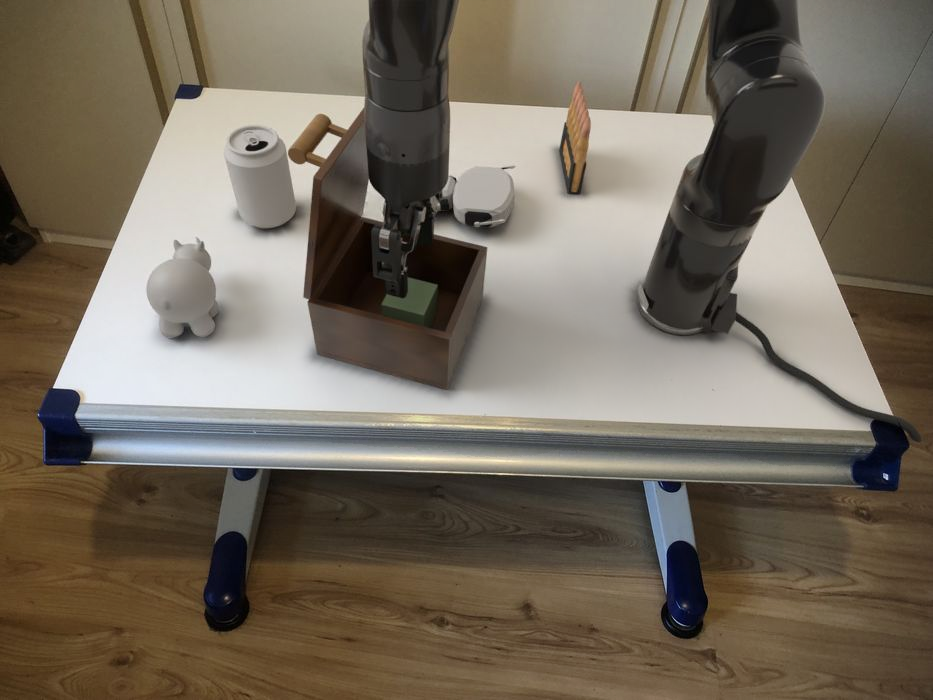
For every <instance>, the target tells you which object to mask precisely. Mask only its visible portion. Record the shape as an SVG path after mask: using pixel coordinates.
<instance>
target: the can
mask: <svg viewBox="0 0 933 700" xmlns="http://www.w3.org/2000/svg"><path fill="white" fill-rule="evenodd" d="M223 156H224V160H225V164H226V167H227V168H226V169H227V171H228V176H229V179H230V183H231V187H232V191H233V195H234V199H235V203H236V206H237V209H238V214H239V216H240V218H241V220H243V221H244V222H245V223H246V224H247V225H250V226H251V227H255V228H259V229H274V228H277V227H278V228H279V227H280V226H282V225H284V224H286V223H287V222H288V221H289V220H290V219H291V218H293V216H294V215H295V213H296V211H297V203H296V198H295V197H296V196H295V192H294V186H293V180H292V175H291V170H290V163H289V156H288V151H287V146H286V144H285V142H284V140H283V139H282V138H281V137H280V136H279V134H278V132H277V131H276V130H275V129H273V128H272V127H269V126H267V125H263V124H248V125H243V126H240V127H238V128H235V129H234V130H233V131H231V132H230V133H229V134H228V136H227V137H226V144H225V146H224V148H223Z"/></svg>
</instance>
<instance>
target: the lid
mask: <svg viewBox="0 0 933 700" xmlns="http://www.w3.org/2000/svg"><path fill="white" fill-rule="evenodd" d="M327 134H330V135H334V136H336V137H338V138H340V139H339V140H338V142H337V144H336V145H335V146H334V147H333V149H332V151H331V152H330V153H329V155H328V156H327V157H326V158H325V157H322V156H320V155H318V154H315V153H314V151H315V150H316V149H317V148H318V146H319V145H320V144H321V142H322V141H323V140H324V138H325V137H326V136H327ZM287 157H288V159H289V160H290V161H291V162H292V163H294V164H296V165H304V164H305V163H308V164H311V165H313V166H316V167H318V170H317V171H316V172H315V174H313V177H312V186H311V187H312V188H311V200H310V210H309V211H310V213H309V223H308V235H307V248H306V260H305V271H304V284H303V295H302V298H303V299H306V300H307V301H308V300H310V299H311V298H312V296H313V295H314V293H315V291H316V290H317V288H318V286H319V285H320V283H321V282H322V280H323V278H324V277H325V275H326V274H327V272H328V270H329V269H330V267H331V265H332V264H333V262H334V261H335V259H336V257H337V256H338V254H339V252H340V251H341V249H342V248H343V246H344V244H345V243H346V241H347V239H348V238H349V236H350V235H351V233H352V231H353V230H354V228H355V227H356V225H357V223H358V222H359V220H360V218H361V217H363V215H364V211H365V205H366V198H367V192H368V187H369V182H370V180H369V176H368V162H367V149H366V135H365V123H364V107H363V108H362V110H361V111H360V112H359V113H358V115H357V116H356V117H355V119H354V120H353V122H352V123H351V125H349V127H348V128H344V127H342V126H339V125H337V124H334V123H333V122H332V119H330V117H329V116H328V115H326V114H325V113H318V114H316V115H315V116H314V117H313V118H312V120H311V121H310V122H309V123H308V125H306V127H305V128H304V130H303V131H302V132H301V133H300V135H299V136H298V137H297V138H296V140H295V141H294V142H293V143H292V144H291V146H290V147H289V148H288V150H287Z"/></svg>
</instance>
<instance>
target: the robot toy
mask: <svg viewBox="0 0 933 700" xmlns="http://www.w3.org/2000/svg"><path fill="white" fill-rule="evenodd" d="M516 167H517V165H514V164H510V165H506V166H500V167H490V166H477V165H475V166H473V167H471V168H469V169H467V170H466V171H464V172H463V173H462V174H460V176H459V177H458V178H456V177H455V176H453V175H449V177H448V181H447V184H446V186H445V187H444V188H443V190H442V194H443V196H442V199H441V201H438V202H437V209H438V210H437V212H442V213H443V212H448V211H450V210H451V209H453V214H454V217H455V219H456V220H457V221H458V222H460V223H461V224H463V225H464V226H467V227H474V228H486V229H487V228H494V227H497V226H499V225H501V224H505V222H506V221H507V219H508V218H509V216H510V214H511V213H512V210H513V207H514V206H515V184H514V180H513V177H512V176H511V175H510V174H509V172H507V171H506V170H509V169H510V170H512V169H515V168H516Z"/></svg>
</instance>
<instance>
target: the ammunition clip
mask: <svg viewBox="0 0 933 700" xmlns="http://www.w3.org/2000/svg"><path fill="white" fill-rule="evenodd" d="M568 107H569V108H568V109H567V116H566V121H565V122H564V124H563V129H562V132H561V133H562V134H561V138H560V145H559V149H558V152H559V157H560V162H561V169H562V172H563V173H562V174H563V178H564V183H565V187H566V192H567V194H581V190H582V187H583V182H584V179H585V178H584V177H585V173H586V168H587V160H586V159H587V155H588V151H589V145H590V142H589V141H590V134H591V129H592V128H591V127H592V123H591V117H590V114H589V109H588V105H587V102H586V97H585V95H584V90H583V86H582V82H581V81H580V80H579V81H578V82H577V84H576V85H575V87H574V90H573V93H572V97H571V101H570V105H569V106H568Z"/></svg>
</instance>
